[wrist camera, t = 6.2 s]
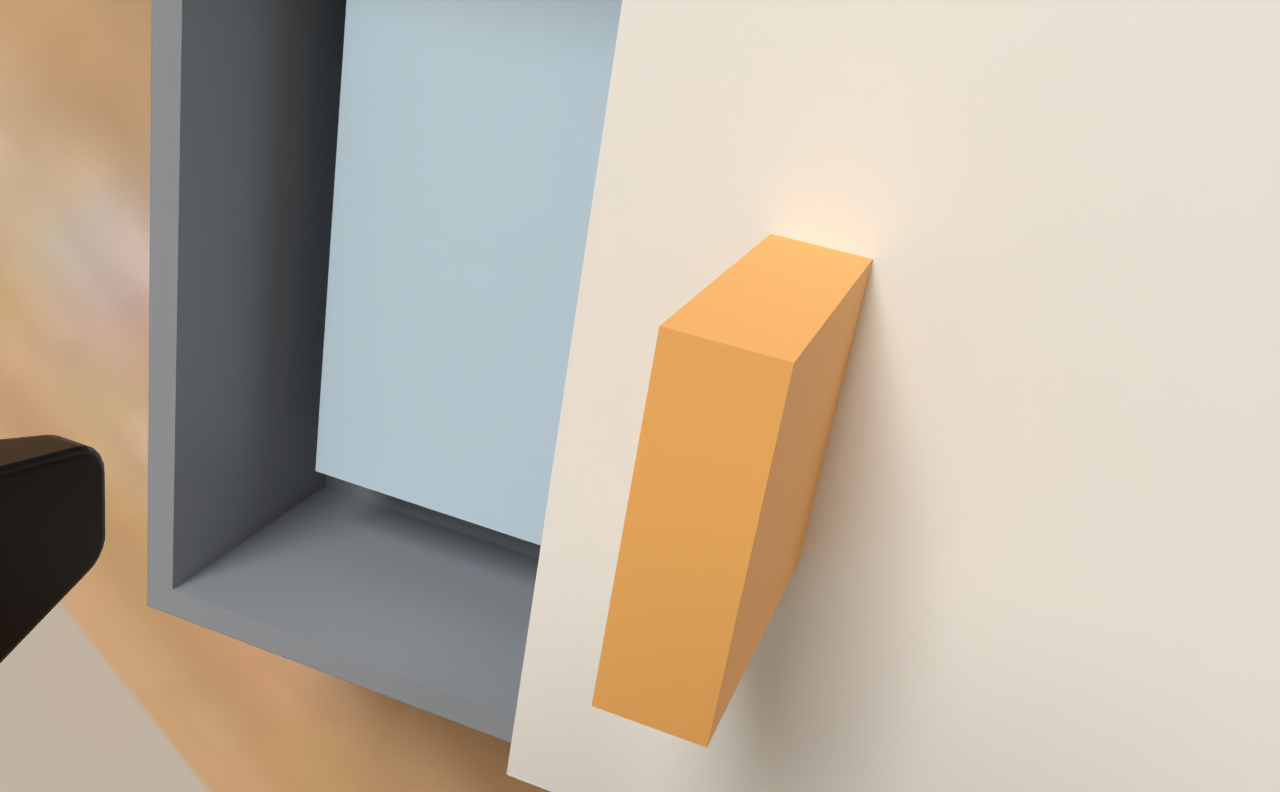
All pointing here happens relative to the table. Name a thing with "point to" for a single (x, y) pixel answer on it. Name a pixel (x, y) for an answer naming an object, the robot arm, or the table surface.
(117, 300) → the table surface
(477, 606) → the carton
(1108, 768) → the flap
